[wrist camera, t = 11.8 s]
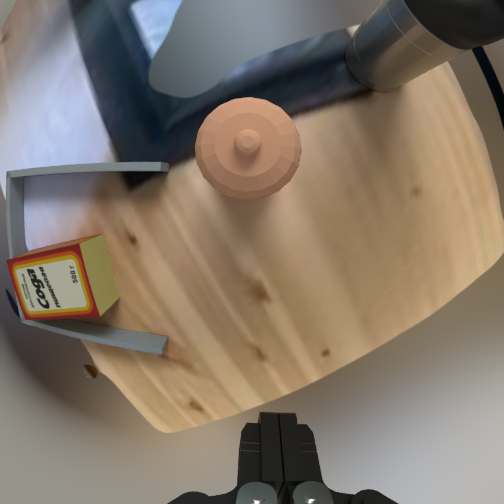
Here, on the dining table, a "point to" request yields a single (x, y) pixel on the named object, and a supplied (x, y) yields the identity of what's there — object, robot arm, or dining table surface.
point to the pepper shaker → (248, 148)
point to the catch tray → (18, 247)
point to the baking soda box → (64, 280)
